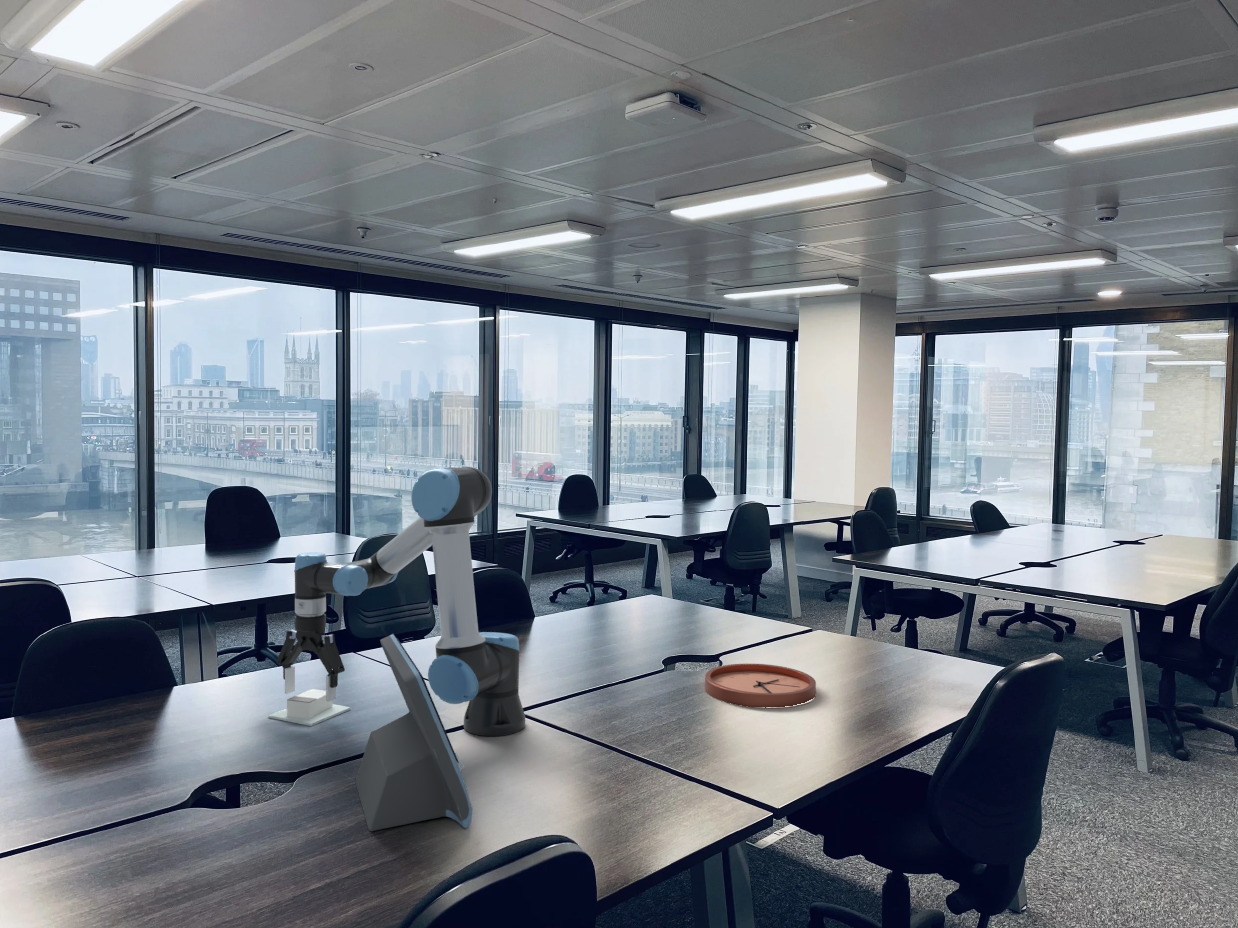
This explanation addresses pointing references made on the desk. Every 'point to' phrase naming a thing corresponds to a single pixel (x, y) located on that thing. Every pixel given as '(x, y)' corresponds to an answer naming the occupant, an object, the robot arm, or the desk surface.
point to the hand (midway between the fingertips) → (310, 696)
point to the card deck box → (308, 704)
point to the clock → (759, 685)
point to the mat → (314, 720)
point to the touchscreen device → (411, 759)
